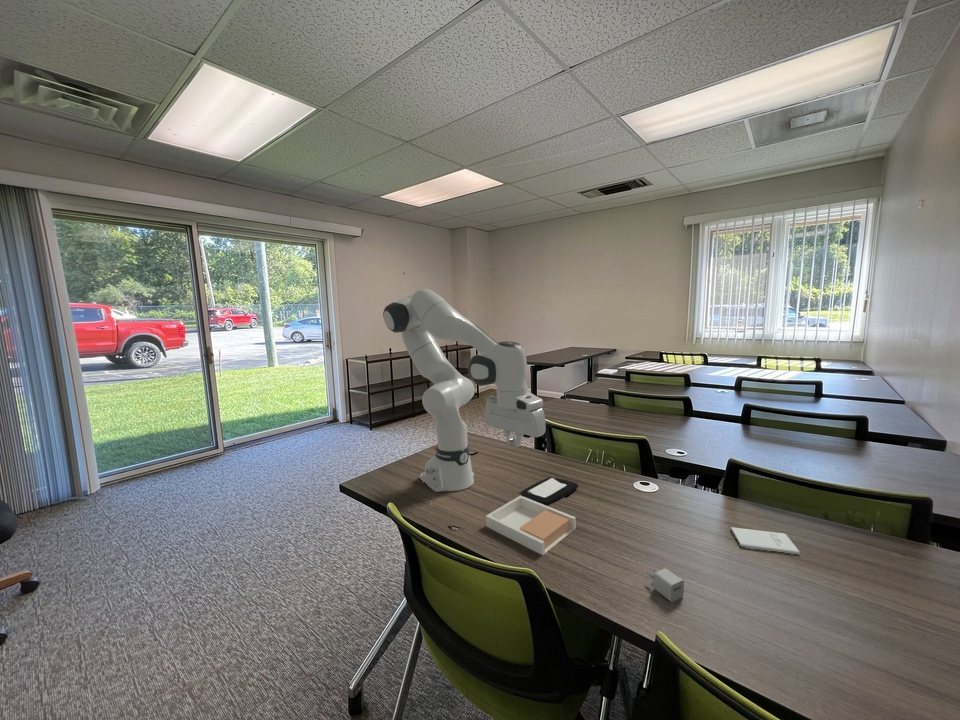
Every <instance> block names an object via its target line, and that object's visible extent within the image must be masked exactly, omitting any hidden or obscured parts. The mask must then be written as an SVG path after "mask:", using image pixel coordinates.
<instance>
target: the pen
mask: <svg viewBox="0 0 960 720" xmlns="http://www.w3.org/2000/svg"><path fill="white" fill-rule="evenodd" d="M447 528H449V529H451V530H454V531H458V530H460V529H461V530H464V528H462V527H459V526H458V525H457V526H456V525H451V526H450V525H448V526H447Z"/></svg>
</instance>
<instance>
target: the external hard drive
mask: <svg viewBox="0 0 960 720" xmlns="http://www.w3.org/2000/svg"><path fill="white" fill-rule="evenodd" d="M730 531H732V532H731V533H732V535H733V534H734V535H733V537H734V536H735V537H734V539H735V538H736V539H737V541H738V542H737V541H736V542H737V544H738V543H739V544H740V546H741V547H747V548H755V549H762V550H770V551H778V552H785V553H791V554H790V555H793V554H798V555H797V556H800V554H801V552H800V550H799V549H798V548H797V547H796V545H795V544H794V542H792V540H791V538H790V537H789V536H788V535H787V534H786V533H783V532H782V533H781V532H774V531H765V530H760V529H759V530H758V529H757V530H756V529H750V528H740V527H732V526H731V527H730ZM736 539H735V540H736ZM739 544H738V545H739ZM740 546H739V547H740ZM747 548H746V549H747ZM762 550H761V551H762ZM770 551H769V552H770ZM785 553H784V554H785Z"/></svg>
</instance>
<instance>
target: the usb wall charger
mask: <svg viewBox="0 0 960 720" xmlns="http://www.w3.org/2000/svg"><path fill="white" fill-rule="evenodd" d="M653 572H654V573H653V574H652V573H650V572H649V571H647V574H646V575H648V577H650V578H651V579H652V580H653V589H654V590H656V591H657V593H659V594H661V595H662V596H663V597H664V598H666V599H667V600H668V601H670V603H673V602H676V601H677V600H679V599H681V598H683V597H684V594H685V592H684V591H685V581H684V580H683V579H681V578H680V577H679V576H677V575H676V574H674V573H673V572H671V571H669V569H667V568H663V569H661V570H657V569H656V568H653Z"/></svg>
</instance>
